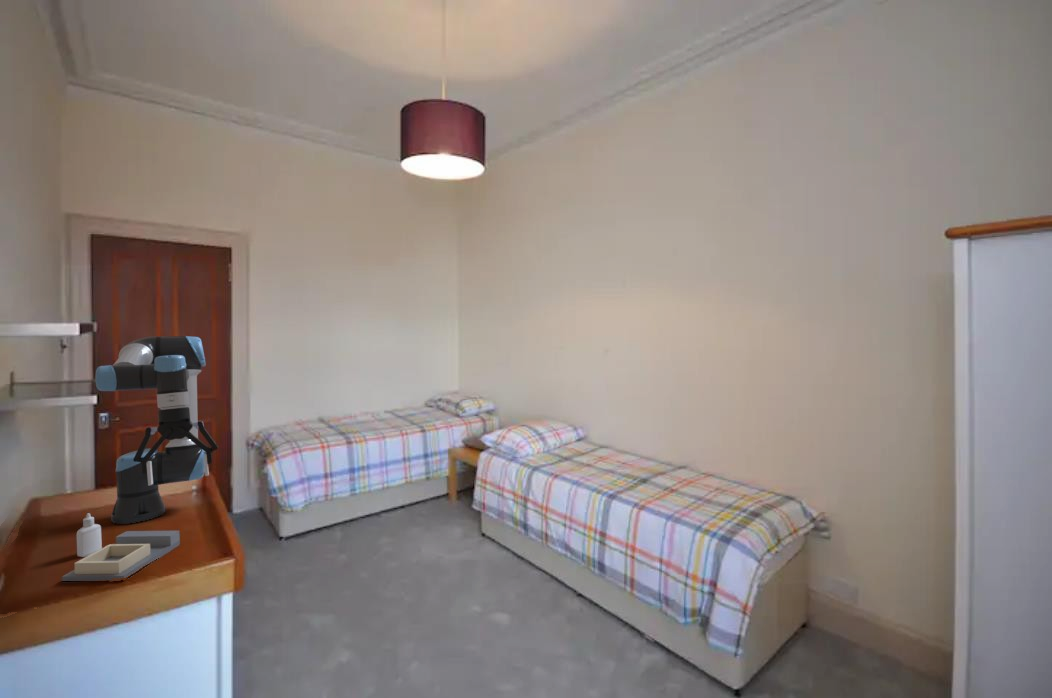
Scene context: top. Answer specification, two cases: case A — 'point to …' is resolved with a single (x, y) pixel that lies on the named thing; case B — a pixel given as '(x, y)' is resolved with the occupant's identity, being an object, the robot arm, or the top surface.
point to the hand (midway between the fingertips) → (179, 479)
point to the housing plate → (124, 555)
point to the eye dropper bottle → (88, 537)
